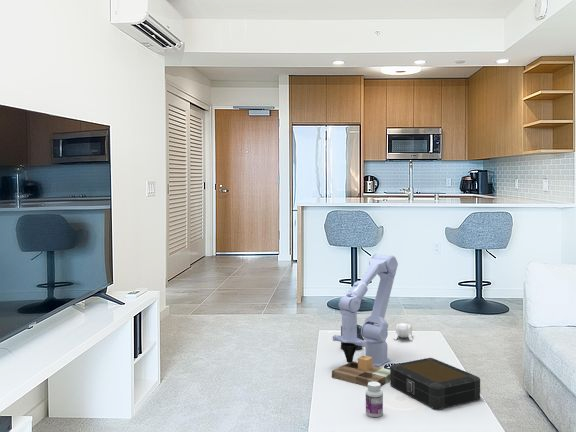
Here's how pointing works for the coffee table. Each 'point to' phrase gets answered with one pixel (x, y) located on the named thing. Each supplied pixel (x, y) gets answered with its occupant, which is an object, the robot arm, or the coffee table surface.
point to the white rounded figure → (403, 331)
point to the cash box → (435, 383)
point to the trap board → (361, 374)
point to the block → (365, 363)
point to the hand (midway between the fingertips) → (349, 361)
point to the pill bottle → (374, 400)
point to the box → (357, 336)
